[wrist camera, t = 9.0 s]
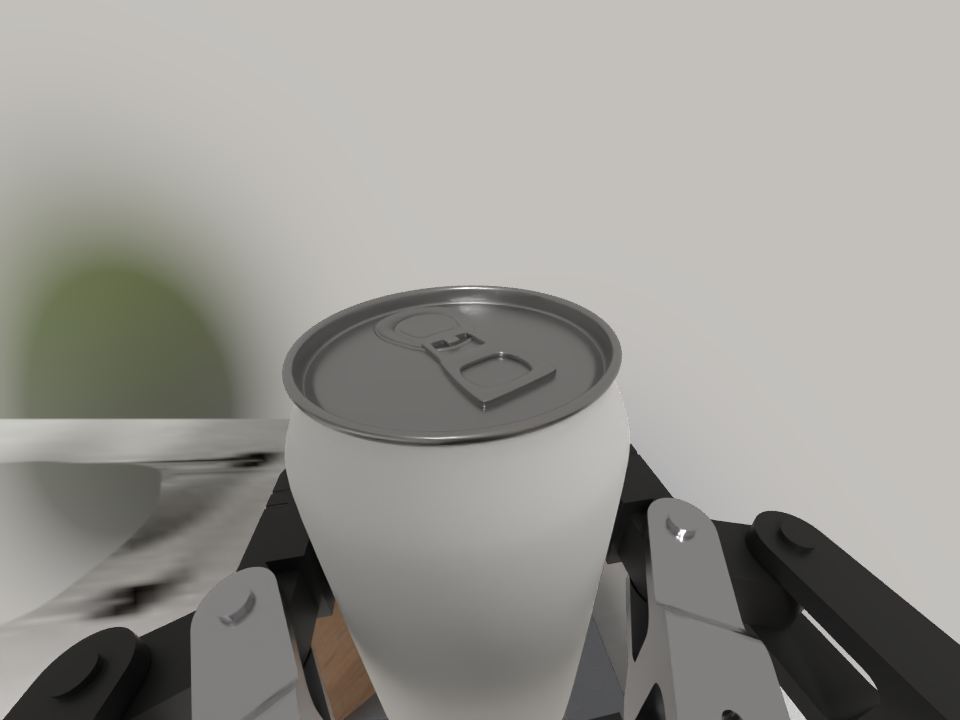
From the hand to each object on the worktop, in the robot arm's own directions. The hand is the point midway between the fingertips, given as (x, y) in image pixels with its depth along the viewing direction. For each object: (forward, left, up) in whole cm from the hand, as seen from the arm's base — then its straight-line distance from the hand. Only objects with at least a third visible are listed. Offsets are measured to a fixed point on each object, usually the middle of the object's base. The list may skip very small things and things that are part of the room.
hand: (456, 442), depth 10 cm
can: (0, -2, -7) cm, 8 cm away
